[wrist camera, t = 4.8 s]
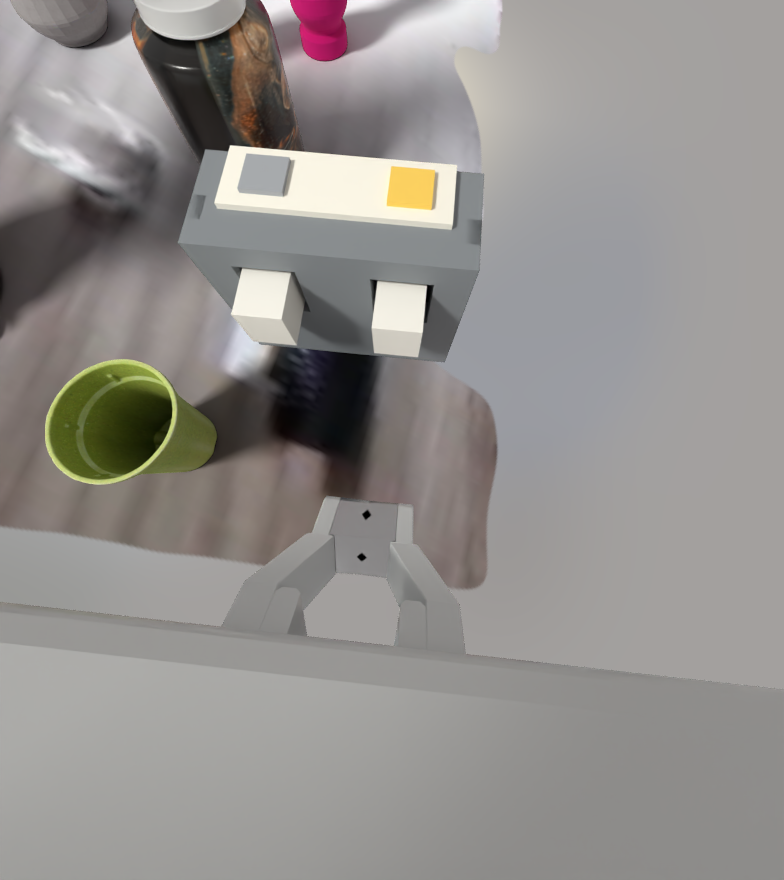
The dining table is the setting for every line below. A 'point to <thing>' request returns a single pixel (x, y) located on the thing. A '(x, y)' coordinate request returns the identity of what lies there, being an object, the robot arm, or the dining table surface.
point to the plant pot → (125, 425)
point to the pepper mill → (322, 27)
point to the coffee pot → (65, 19)
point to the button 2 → (398, 318)
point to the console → (340, 237)
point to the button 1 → (269, 305)
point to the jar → (218, 72)
